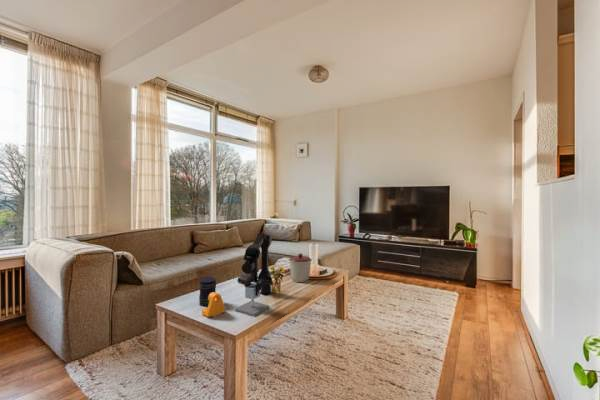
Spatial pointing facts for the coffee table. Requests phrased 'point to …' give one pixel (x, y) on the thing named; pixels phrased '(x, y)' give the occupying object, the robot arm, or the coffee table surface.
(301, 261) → the canister
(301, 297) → the coffee table surface
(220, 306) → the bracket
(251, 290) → the blue-grey hollow cube
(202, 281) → the storage jar
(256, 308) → the pin plate
